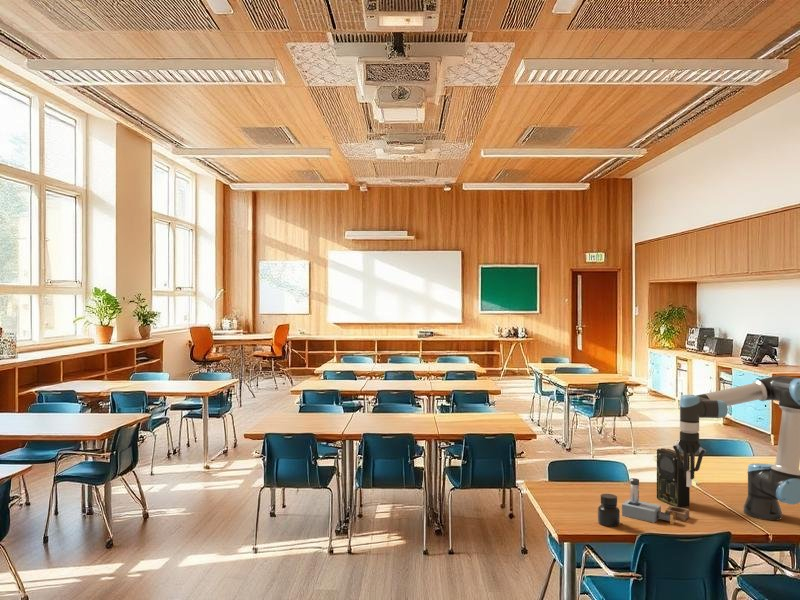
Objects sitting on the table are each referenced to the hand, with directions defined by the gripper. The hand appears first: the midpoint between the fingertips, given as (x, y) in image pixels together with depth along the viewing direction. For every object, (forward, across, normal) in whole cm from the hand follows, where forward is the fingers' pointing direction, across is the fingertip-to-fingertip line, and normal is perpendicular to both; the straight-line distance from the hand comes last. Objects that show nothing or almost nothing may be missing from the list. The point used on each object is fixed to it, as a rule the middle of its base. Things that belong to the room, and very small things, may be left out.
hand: (689, 486), depth 253 cm
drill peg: (+18, +23, 0) cm, 29 cm away
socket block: (+18, +20, 0) cm, 26 cm away
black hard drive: (+18, +14, -29) cm, 37 cm away
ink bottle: (+18, +28, +19) cm, 38 cm away
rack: (+18, +7, -9) cm, 21 cm away
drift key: (+17, +10, 0) cm, 20 cm away
